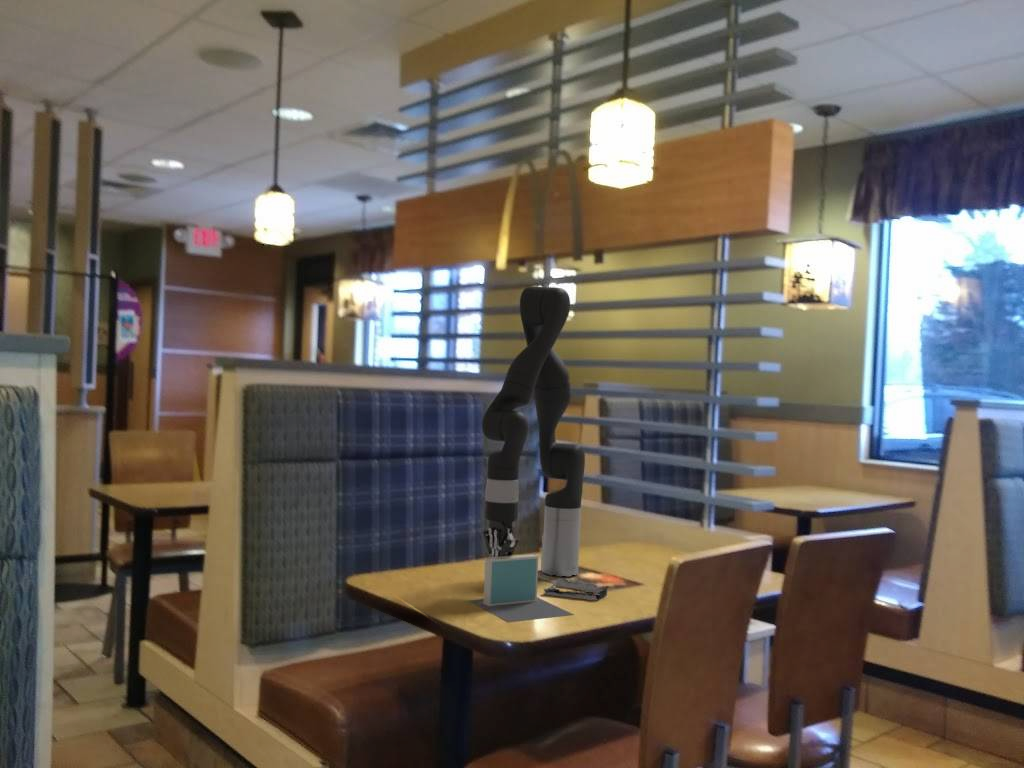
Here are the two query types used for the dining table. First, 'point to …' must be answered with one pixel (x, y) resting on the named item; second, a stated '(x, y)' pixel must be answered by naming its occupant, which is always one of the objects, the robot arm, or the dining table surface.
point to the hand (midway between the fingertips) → (498, 575)
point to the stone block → (510, 579)
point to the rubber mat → (523, 610)
